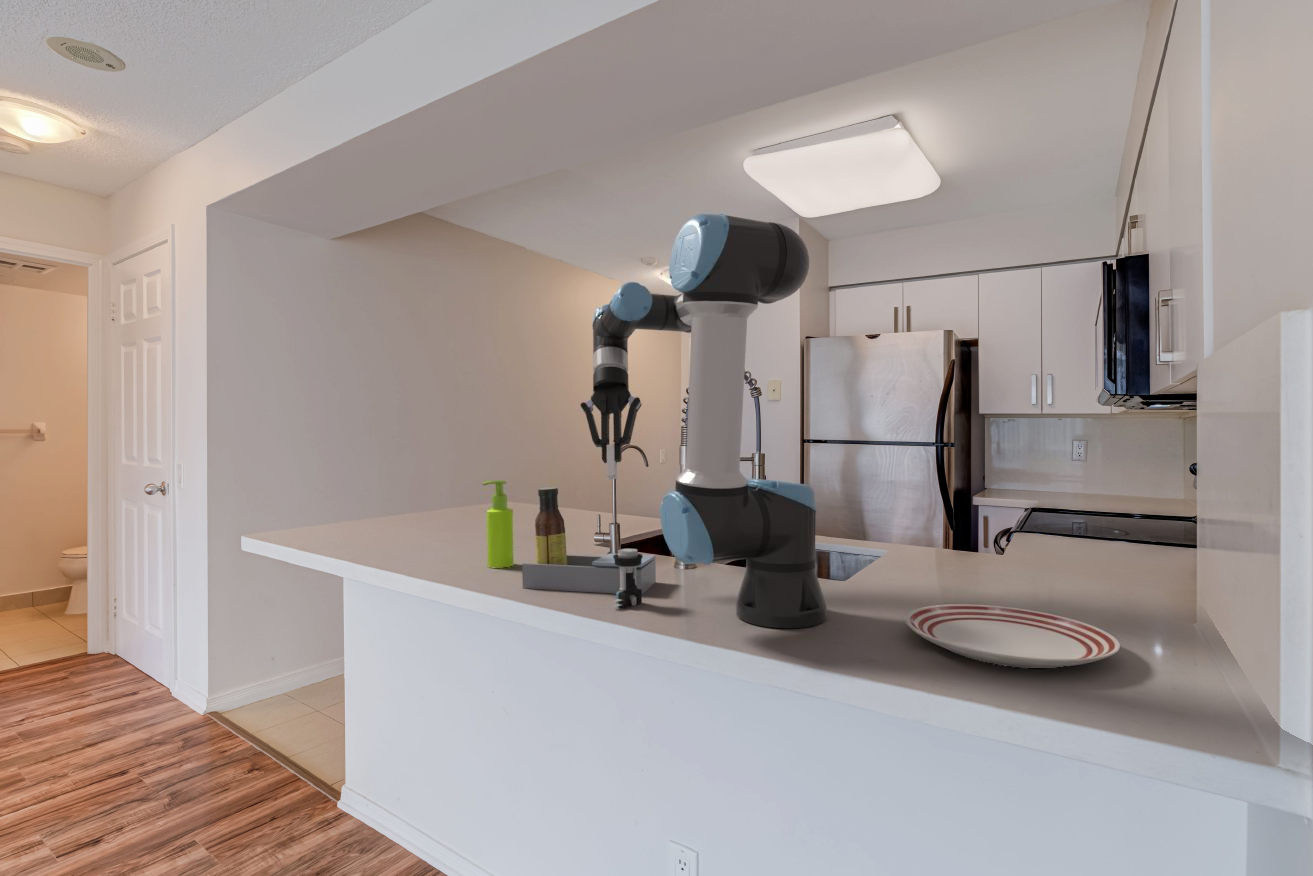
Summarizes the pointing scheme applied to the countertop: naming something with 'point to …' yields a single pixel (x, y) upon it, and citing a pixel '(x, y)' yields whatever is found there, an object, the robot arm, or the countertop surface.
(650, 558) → the lid
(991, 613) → the dinner plate
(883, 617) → the countertop surface
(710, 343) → the robot arm
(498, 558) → the soap dispenser
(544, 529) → the sauce bottle
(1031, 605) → the countertop surface
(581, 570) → the grey shallow tray
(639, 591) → the push button
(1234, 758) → the countertop surface
